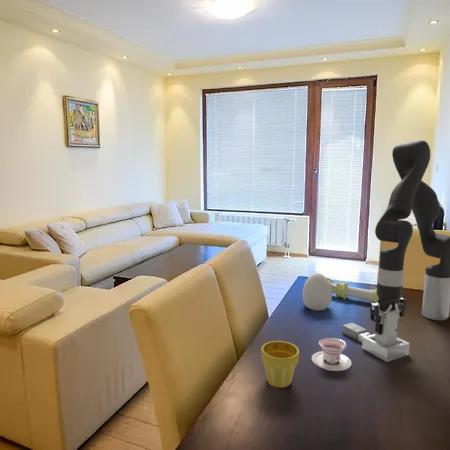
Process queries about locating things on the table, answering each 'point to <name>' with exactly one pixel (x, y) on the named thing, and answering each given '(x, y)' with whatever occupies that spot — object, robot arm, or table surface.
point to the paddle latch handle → (376, 343)
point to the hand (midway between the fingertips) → (386, 331)
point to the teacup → (331, 355)
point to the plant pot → (279, 362)
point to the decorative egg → (317, 292)
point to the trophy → (353, 291)
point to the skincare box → (388, 330)
